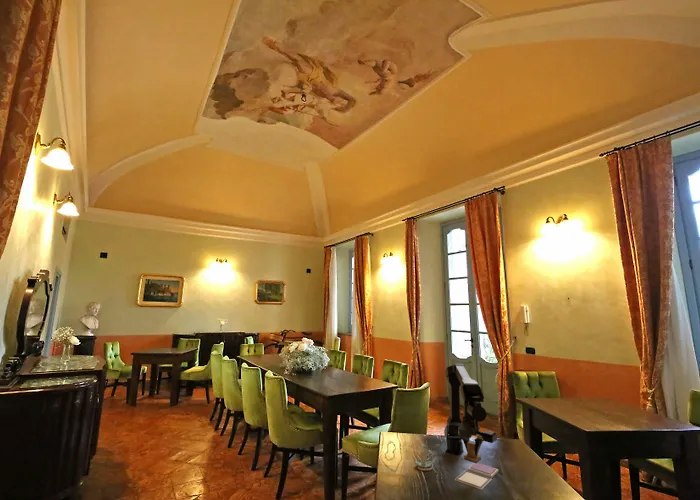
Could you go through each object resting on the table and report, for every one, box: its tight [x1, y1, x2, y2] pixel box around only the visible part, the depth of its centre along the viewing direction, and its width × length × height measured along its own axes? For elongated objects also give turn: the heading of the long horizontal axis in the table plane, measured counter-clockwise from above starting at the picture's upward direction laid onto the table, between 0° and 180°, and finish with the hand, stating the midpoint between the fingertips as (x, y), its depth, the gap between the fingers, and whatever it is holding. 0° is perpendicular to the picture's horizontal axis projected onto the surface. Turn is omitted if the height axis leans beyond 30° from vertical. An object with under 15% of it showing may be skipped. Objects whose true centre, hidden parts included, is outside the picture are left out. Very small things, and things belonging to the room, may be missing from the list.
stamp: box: [463, 440, 482, 464], centre depth 145 cm, size 5×5×6 cm
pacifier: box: [414, 451, 433, 472], centre depth 153 cm, size 7×6×6 cm
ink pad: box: [467, 462, 499, 479], centre depth 151 cm, size 10×8×1 cm
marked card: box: [454, 469, 492, 491], centre depth 143 cm, size 11×11×1 cm
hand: (472, 454), depth 145 cm, fingers closed on stamp, 3 cm apart
